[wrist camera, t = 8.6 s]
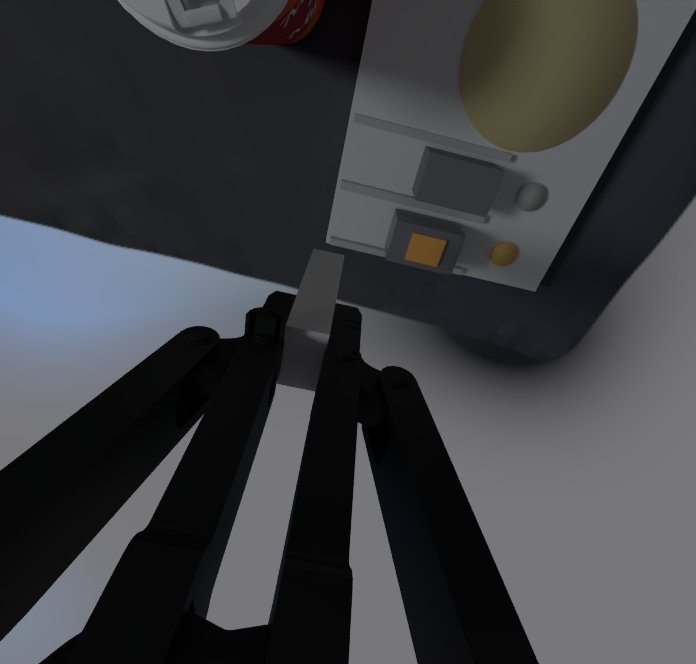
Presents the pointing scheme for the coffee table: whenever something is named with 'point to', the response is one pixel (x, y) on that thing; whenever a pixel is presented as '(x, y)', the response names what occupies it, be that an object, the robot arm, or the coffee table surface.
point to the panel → (494, 120)
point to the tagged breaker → (424, 242)
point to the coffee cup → (226, 21)
